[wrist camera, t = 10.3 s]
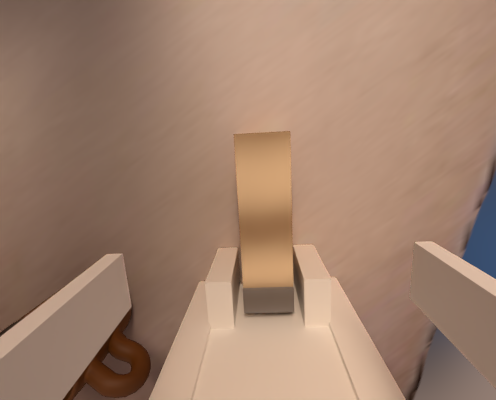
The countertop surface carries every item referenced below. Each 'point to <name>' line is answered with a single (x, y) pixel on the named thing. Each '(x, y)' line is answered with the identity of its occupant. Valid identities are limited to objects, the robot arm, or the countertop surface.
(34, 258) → the countertop surface
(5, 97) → the countertop surface
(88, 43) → the countertop surface
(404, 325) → the countertop surface
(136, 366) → the mug
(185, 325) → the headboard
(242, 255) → the wooden block
